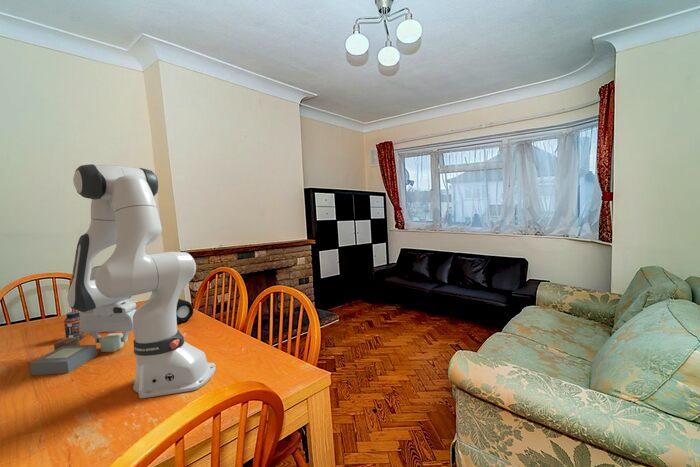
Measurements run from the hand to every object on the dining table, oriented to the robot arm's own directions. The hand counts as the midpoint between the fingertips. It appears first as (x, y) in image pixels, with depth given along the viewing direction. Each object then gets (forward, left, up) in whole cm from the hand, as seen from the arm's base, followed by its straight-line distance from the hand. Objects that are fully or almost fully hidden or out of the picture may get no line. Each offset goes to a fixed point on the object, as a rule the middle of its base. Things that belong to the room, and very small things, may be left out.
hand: (111, 341), depth 119 cm
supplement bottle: (+23, -11, -3) cm, 25 cm away
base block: (+8, +11, -3) cm, 14 cm away
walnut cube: (+15, +2, -3) cm, 15 cm away
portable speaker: (-6, -31, -3) cm, 32 cm away
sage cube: (0, 0, -3) cm, 3 cm away
